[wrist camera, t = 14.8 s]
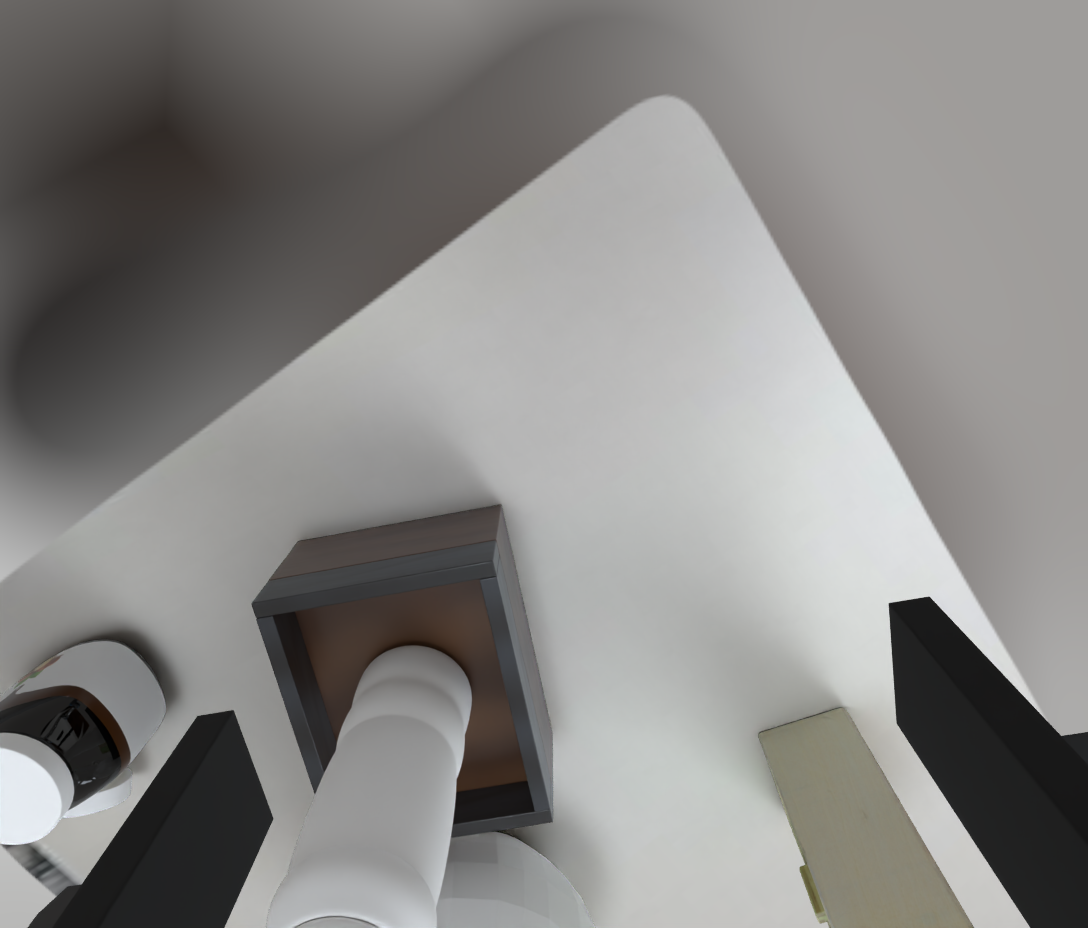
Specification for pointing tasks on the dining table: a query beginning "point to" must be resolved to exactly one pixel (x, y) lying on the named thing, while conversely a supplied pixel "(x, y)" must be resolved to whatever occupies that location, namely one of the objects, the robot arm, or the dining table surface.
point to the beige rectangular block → (854, 831)
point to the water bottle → (383, 802)
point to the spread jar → (73, 736)
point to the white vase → (505, 887)
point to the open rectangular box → (423, 620)
